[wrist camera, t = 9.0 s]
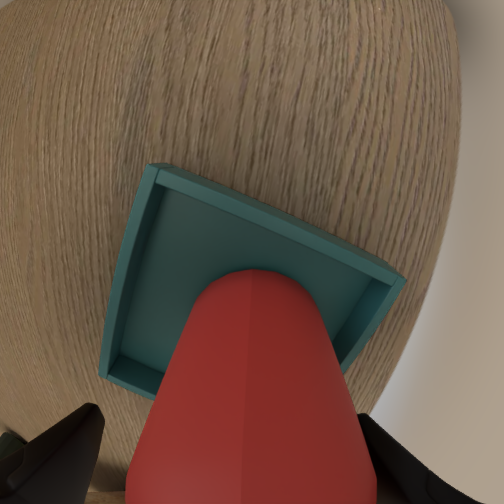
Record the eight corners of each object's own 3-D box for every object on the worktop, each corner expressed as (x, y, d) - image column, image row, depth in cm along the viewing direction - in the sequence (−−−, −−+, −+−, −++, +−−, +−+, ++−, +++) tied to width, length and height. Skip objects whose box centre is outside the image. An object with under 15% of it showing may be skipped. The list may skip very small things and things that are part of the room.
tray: (386, 261, 14) (407, 280, 11) (283, 411, 17) (286, 438, 15) (165, 162, 12) (146, 163, 10) (112, 351, 16) (97, 375, 13)
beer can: (267, 236, 13) (299, 547, 1) (340, 330, 14) (420, 542, 3) (167, 311, 14) (61, 524, 3) (245, 386, 16) (234, 579, 4)
